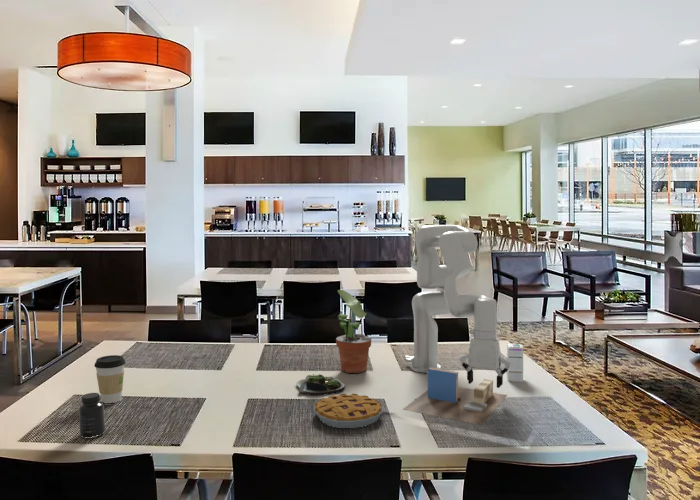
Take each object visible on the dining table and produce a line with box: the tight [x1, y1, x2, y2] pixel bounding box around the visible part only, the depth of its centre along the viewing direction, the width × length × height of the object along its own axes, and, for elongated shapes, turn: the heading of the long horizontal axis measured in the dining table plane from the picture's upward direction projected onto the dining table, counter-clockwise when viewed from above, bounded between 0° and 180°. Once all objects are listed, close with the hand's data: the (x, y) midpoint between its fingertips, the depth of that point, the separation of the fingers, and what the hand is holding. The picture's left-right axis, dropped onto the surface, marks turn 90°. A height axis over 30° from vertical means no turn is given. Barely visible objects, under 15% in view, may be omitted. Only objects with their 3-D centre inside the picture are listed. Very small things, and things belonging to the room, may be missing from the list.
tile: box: [427, 368, 459, 403], centre depth 190 cm, size 10×2×10 cm, turn 60°
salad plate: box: [296, 373, 346, 396], centre depth 209 cm, size 19×18×5 cm
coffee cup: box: [94, 354, 126, 403], centre depth 193 cm, size 10×10×15 cm
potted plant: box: [335, 289, 372, 374], centre depth 226 cm, size 16×15×35 cm
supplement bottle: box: [78, 392, 106, 437], centre depth 166 cm, size 7×7×12 cm
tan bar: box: [464, 378, 494, 412], centre depth 188 cm, size 18×6×5 cm, turn 150°
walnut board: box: [402, 386, 508, 426], centre depth 188 cm, size 26×30×2 cm
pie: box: [313, 393, 384, 429], centre depth 179 cm, size 22×22×5 cm
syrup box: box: [506, 343, 524, 383], centre depth 212 cm, size 6×6×14 cm
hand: (484, 384), depth 190 cm, fingers open, 9 cm apart
